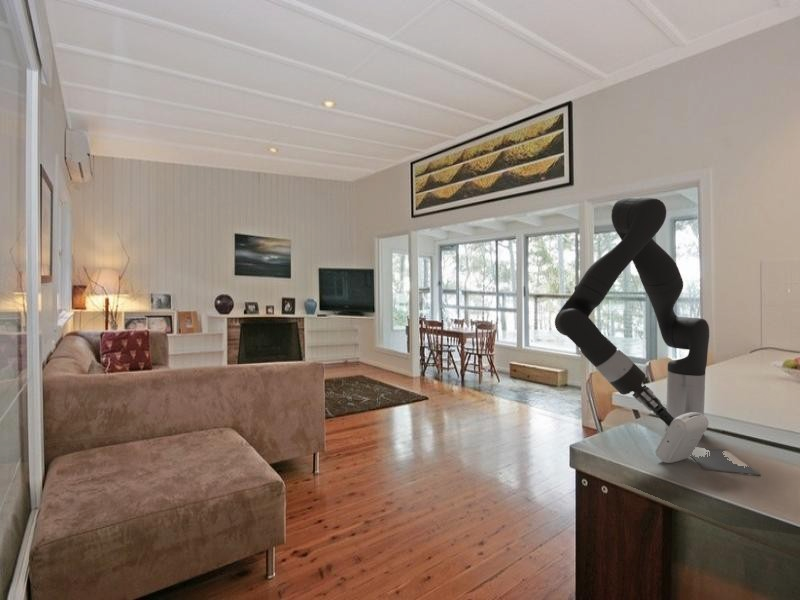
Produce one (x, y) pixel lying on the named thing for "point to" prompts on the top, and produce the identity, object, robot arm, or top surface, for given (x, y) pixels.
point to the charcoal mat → (721, 463)
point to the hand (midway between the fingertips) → (673, 424)
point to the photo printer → (682, 437)
